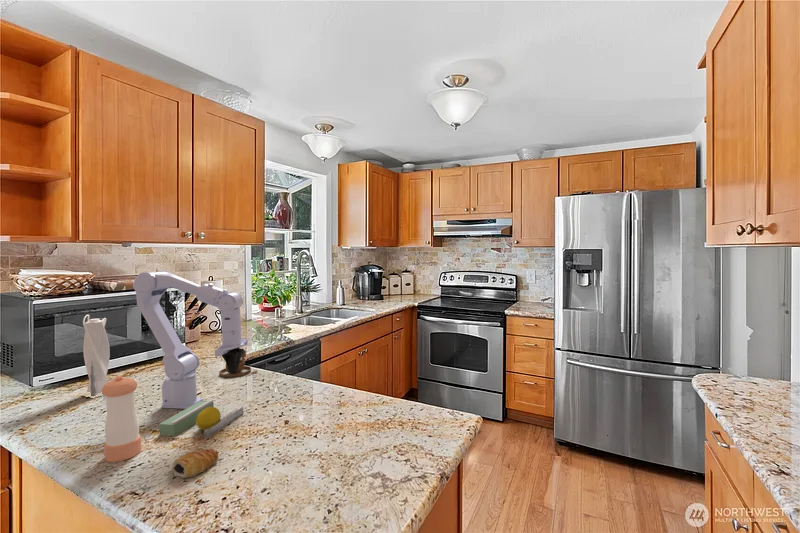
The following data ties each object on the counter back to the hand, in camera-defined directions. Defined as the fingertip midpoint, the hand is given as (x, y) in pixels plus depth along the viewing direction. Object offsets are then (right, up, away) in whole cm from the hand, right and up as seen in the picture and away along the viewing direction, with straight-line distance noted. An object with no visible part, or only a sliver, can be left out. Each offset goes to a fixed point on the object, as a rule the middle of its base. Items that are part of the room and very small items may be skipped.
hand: (233, 372), depth 126 cm
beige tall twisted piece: (-53, -11, +13) cm, 56 cm away
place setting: (-12, -9, +36) cm, 39 cm away
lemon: (+1, -8, -13) cm, 15 cm away
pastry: (+7, -12, -38) cm, 40 cm away
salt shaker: (-14, -12, -30) cm, 35 cm away
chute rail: (+4, -11, -16) cm, 19 cm away
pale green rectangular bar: (-7, -11, -13) cm, 19 cm away
